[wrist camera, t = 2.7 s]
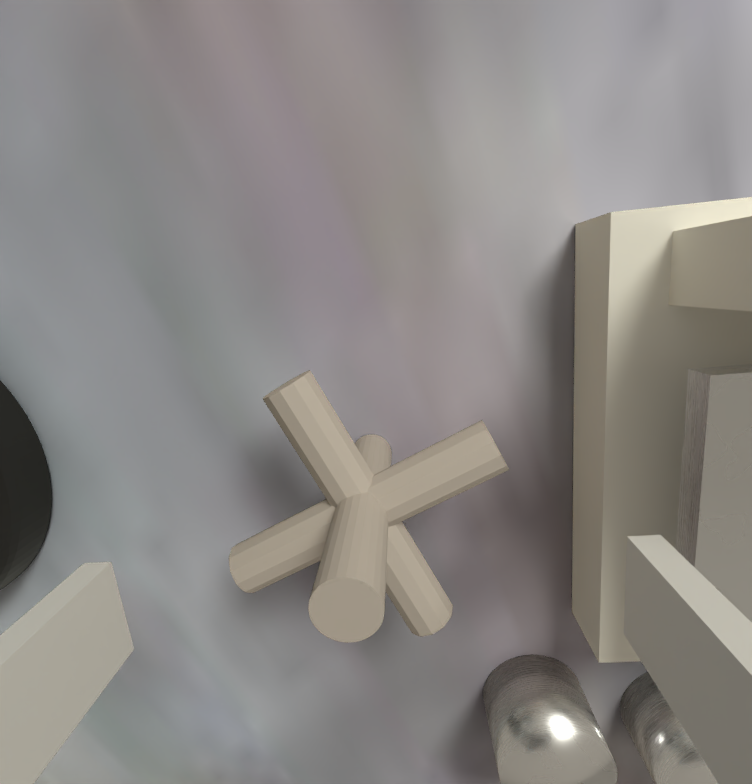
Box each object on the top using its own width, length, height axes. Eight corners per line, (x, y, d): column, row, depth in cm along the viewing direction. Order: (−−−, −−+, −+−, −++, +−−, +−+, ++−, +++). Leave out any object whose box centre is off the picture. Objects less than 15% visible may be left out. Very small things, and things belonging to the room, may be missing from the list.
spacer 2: (617, 743, 23) (661, 834, 20) (621, 666, 22) (667, 747, 18) (716, 741, 23) (780, 833, 19) (724, 663, 22) (794, 744, 18)
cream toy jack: (519, 494, 20) (630, 687, 11) (334, 580, 22) (283, 818, 12) (415, 301, 18) (434, 320, 9) (222, 411, 20) (56, 531, 10)
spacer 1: (484, 732, 24) (501, 820, 20) (480, 655, 23) (497, 732, 19) (579, 729, 23) (615, 818, 19) (580, 651, 22) (619, 729, 18)
